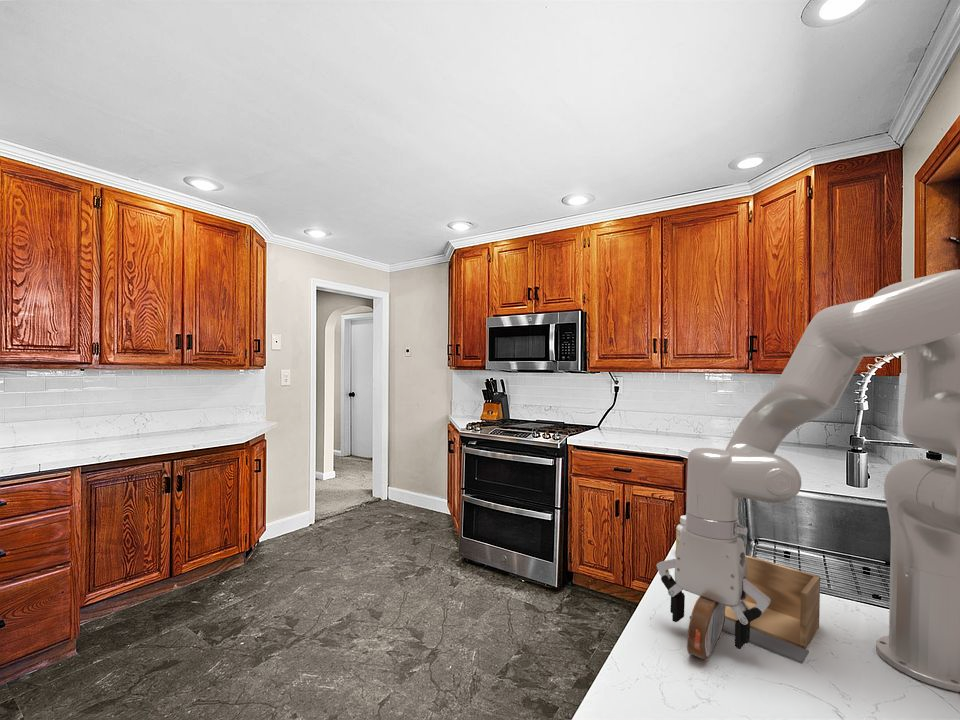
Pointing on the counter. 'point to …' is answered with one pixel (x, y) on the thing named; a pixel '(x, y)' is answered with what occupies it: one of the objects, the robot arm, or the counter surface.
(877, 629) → the counter surface
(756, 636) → the flat grey bar
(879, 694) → the counter surface
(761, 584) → the cabinet carcass
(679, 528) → the supplement bottle
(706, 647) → the tin
